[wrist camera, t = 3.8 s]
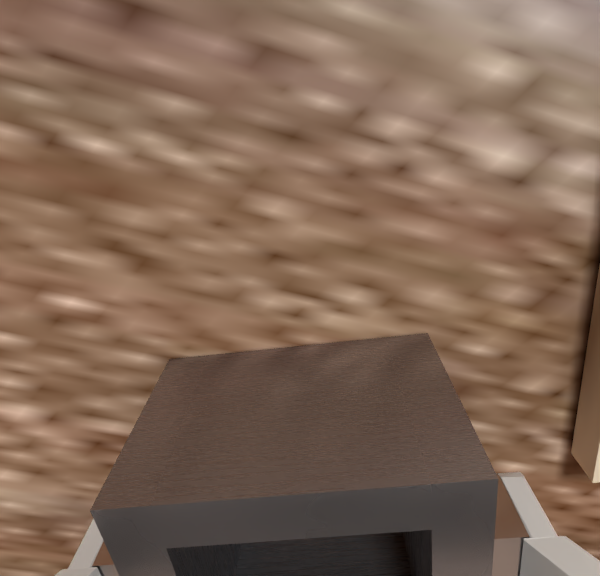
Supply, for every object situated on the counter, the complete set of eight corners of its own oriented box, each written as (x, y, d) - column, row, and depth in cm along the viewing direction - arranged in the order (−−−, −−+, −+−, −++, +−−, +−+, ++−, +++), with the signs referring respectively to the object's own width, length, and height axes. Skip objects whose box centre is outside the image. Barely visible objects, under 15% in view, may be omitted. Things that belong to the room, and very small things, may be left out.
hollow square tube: (169, 359, 11) (90, 510, 7) (427, 333, 11) (499, 479, 7) (220, 534, 14) (182, 719, 10) (430, 519, 13) (483, 706, 9)
